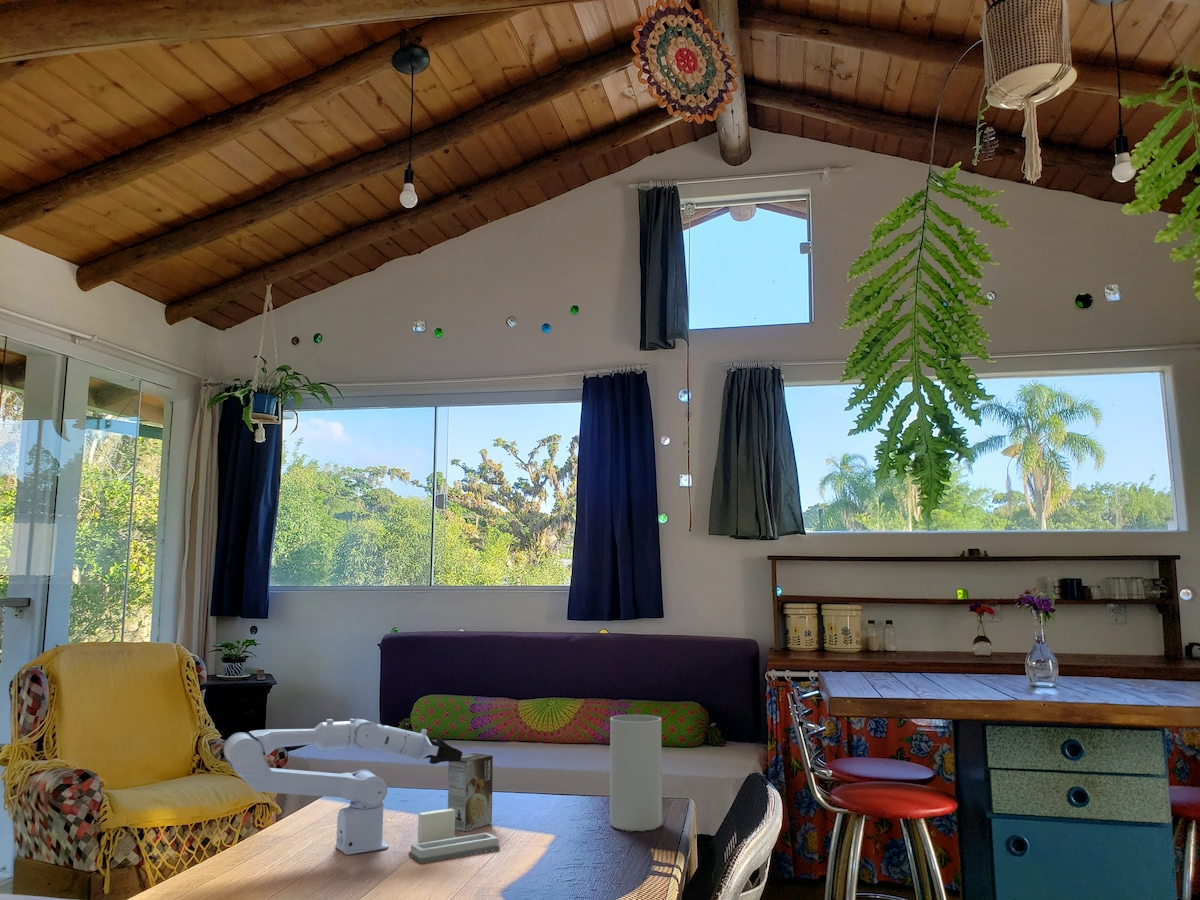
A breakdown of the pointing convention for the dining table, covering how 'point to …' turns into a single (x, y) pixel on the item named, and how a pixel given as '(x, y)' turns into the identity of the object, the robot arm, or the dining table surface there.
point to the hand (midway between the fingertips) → (454, 755)
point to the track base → (453, 847)
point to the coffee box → (471, 790)
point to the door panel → (436, 825)
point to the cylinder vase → (635, 772)
